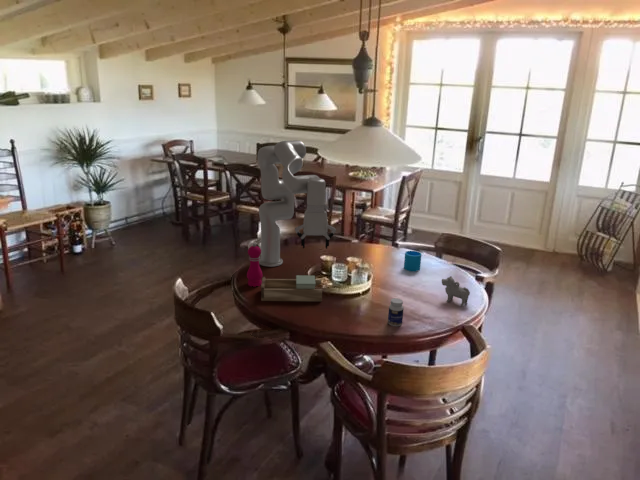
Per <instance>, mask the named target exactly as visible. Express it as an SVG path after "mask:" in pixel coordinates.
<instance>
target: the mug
mask: <svg viewBox="0 0 640 480" xmlns="http://www.w3.org/2000/svg"><path fill="white" fill-rule="evenodd" d="M421 264H422V253H421V252H419V251H417V250H407V251H405V253H404V262H403V269H404V270H405V271H408V272H420V270H421Z"/></svg>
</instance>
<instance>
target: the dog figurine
mask: <svg viewBox="0 0 640 480" xmlns="http://www.w3.org/2000/svg"><path fill="white" fill-rule="evenodd" d="M441 285H442V286H444V287H445V293H446V295H447V299H446V302H447V303H450V302H449V301H451V300H453V299H454V297H455V298H458V299H461V304H460V305H461V306H460V307H464V305H465V304H467V303H468V300H469V296H470V294H471V291H470V290H469V288H468V287H467V288H466V287H465V286H464V287H461V286H460V283H459V282H458V281H455V279H454V278H453V277H452V276H449V277H447V278H445V279H444V278H442V279H441Z"/></svg>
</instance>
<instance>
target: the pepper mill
mask: <svg viewBox="0 0 640 480" xmlns="http://www.w3.org/2000/svg"><path fill="white" fill-rule="evenodd" d="M247 255H248V260H249V268H248V270H247V272H246V278H247V279H248V280H247V285H248V286H249V287H252V286H253V288H254V287H255V288H257V287H256V286H258V287H261V285H262V279H263V277H264V276H263V271H262V268H261V265H260V264H259V260H260V258H261V247H260V246H258V245H257V243H255V242H253V243H252V245H251V246H250V247H249V248H248V250H247Z"/></svg>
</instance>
